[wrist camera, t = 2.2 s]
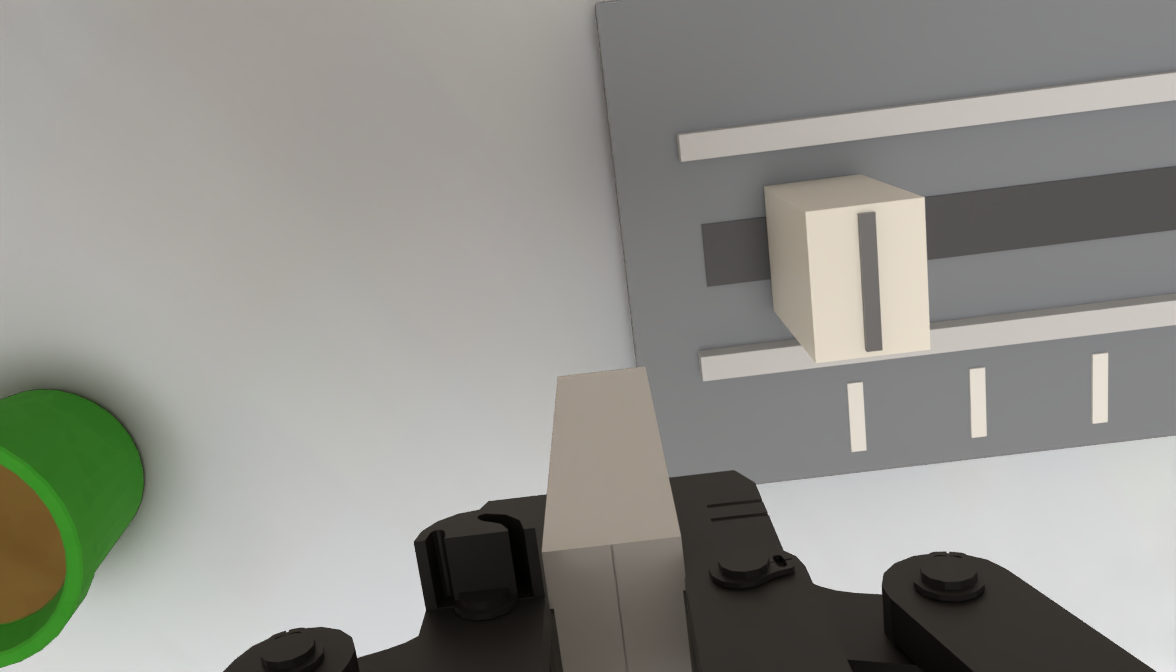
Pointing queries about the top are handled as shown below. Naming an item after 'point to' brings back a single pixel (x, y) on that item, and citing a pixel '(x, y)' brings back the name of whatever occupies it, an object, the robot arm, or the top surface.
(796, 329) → the fader tab
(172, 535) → the top surface
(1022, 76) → the console
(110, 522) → the potted flower
